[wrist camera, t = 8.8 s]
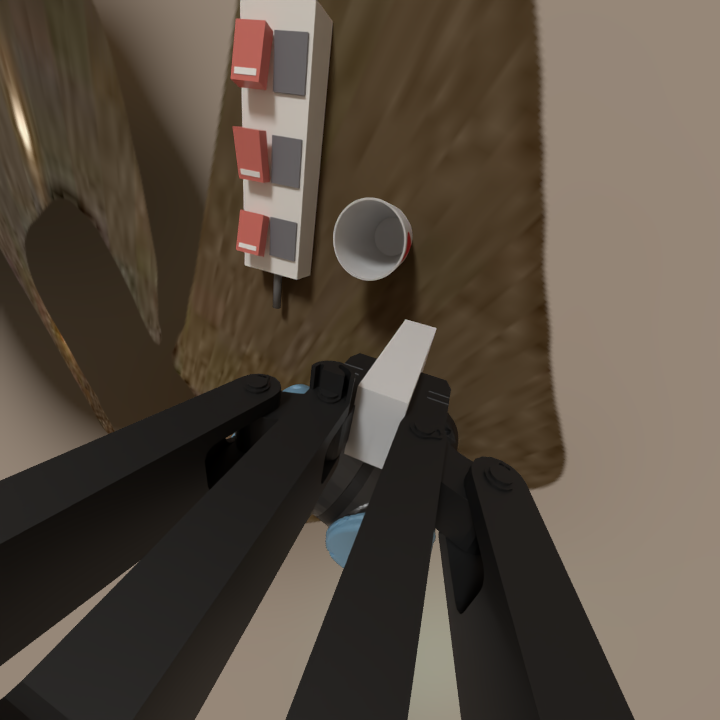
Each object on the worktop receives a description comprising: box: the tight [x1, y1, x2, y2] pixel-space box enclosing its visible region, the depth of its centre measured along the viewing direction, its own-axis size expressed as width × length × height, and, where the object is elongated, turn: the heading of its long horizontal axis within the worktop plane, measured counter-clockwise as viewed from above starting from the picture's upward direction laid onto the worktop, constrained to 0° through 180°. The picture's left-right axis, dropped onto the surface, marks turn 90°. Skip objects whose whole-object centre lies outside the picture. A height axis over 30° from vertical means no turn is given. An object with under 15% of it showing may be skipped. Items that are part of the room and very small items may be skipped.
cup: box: [333, 198, 413, 281], centre depth 35 cm, size 8×8×10 cm
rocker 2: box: [233, 126, 270, 183], centre depth 36 cm, size 5×4×2 cm
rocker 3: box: [236, 210, 270, 257], centre depth 40 cm, size 5×4×2 cm
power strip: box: [240, 0, 333, 309], centre depth 40 cm, size 34×9×4 cm, turn 169°
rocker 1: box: [231, 19, 273, 90], centre depth 32 cm, size 5×4×2 cm
